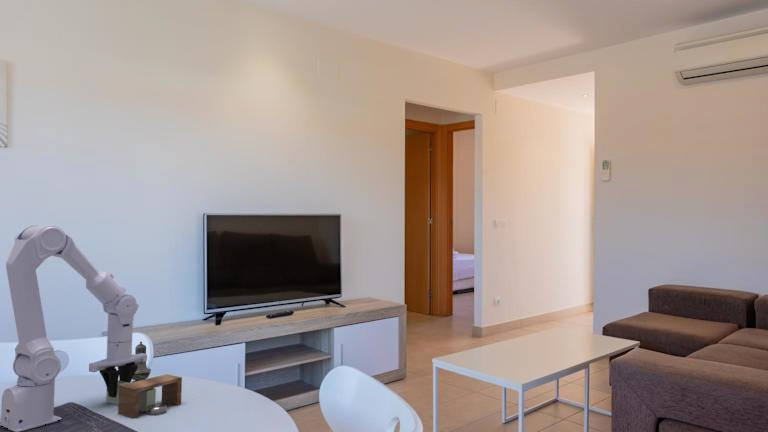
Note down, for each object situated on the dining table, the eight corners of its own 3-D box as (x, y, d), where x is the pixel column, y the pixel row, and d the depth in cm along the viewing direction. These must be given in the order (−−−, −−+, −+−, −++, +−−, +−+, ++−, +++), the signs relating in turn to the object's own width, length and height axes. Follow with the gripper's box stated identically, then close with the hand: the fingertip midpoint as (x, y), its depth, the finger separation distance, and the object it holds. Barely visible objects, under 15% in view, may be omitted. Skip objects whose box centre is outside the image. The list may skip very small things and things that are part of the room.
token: (154, 416, 125) (154, 410, 125) (142, 413, 127) (142, 407, 127) (170, 411, 128) (170, 405, 128) (158, 408, 131) (158, 402, 131)
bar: (146, 412, 128) (146, 391, 128) (106, 401, 136) (106, 381, 136) (155, 409, 130) (155, 388, 130) (115, 399, 138) (115, 379, 138)
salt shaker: (135, 387, 149) (136, 343, 150) (124, 383, 152) (125, 341, 153) (155, 383, 154) (156, 340, 154) (144, 379, 157) (145, 338, 158)
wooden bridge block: (133, 418, 123) (134, 389, 123) (118, 413, 126) (119, 385, 126) (181, 404, 134) (181, 377, 134) (165, 400, 137) (166, 374, 138)
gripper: (135, 335, 144) (134, 386, 144) (82, 343, 132) (80, 399, 131) (152, 337, 141) (151, 390, 140) (99, 347, 128) (97, 404, 128)
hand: (118, 395), depth 135 cm, fingers closed on bar, 2 cm apart
